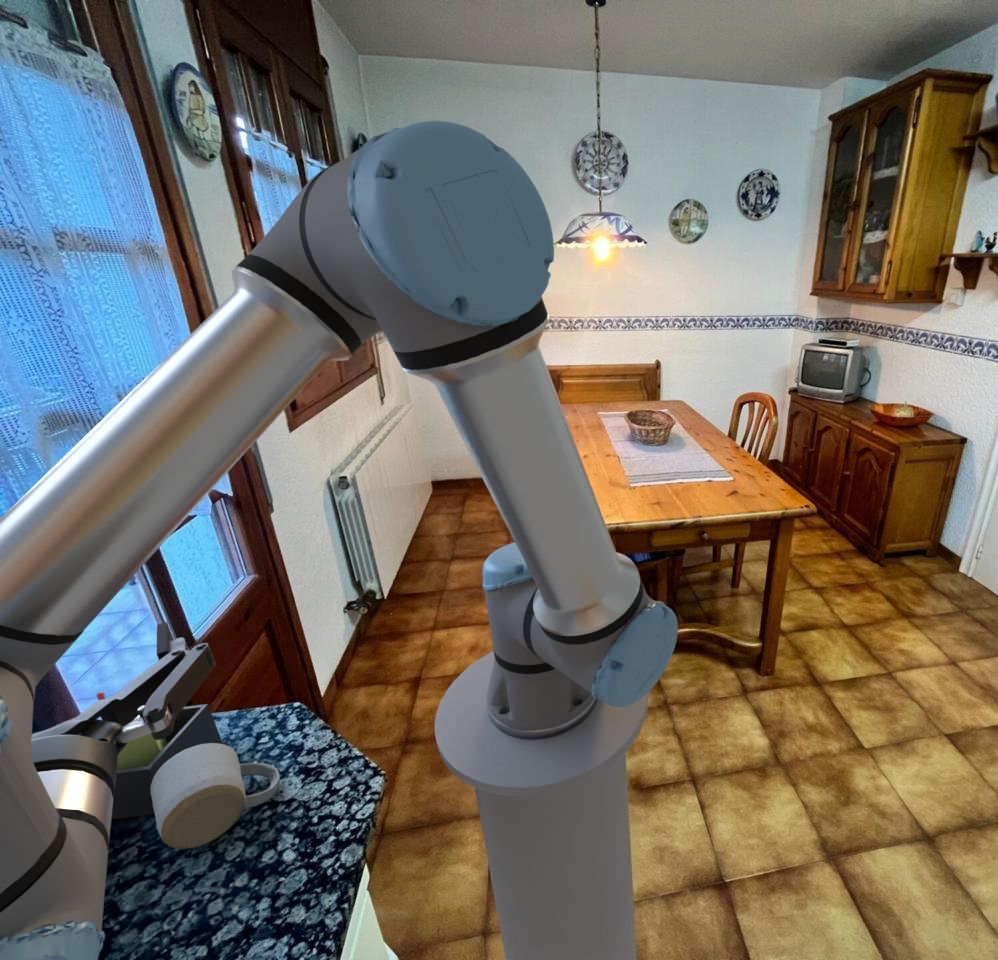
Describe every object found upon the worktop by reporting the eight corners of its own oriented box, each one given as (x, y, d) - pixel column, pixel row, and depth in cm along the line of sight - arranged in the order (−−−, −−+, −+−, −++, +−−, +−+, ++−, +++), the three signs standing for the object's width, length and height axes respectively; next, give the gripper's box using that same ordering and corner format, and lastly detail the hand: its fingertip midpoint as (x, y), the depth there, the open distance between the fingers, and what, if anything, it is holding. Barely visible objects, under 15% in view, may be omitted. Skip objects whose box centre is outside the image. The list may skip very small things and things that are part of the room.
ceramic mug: (171, 871, 53) (147, 815, 50) (162, 820, 58) (140, 767, 56) (290, 802, 60) (274, 750, 58) (273, 762, 65) (258, 713, 63)
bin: (222, 743, 69) (208, 703, 67) (168, 812, 59) (148, 769, 57) (139, 753, 67) (122, 713, 65) (70, 825, 58) (47, 781, 56)
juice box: (173, 755, 66) (134, 664, 62) (173, 781, 63) (133, 686, 58) (130, 774, 64) (87, 680, 59) (128, 802, 60) (82, 704, 56)
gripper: (-284, 1023, 27) (-125, 773, 43) (273, 754, 43) (243, 640, 58) (-381, 931, 25) (-176, 700, 40) (247, 680, 40) (223, 582, 56)
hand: (72, 664), depth 49 cm, fingers open, 13 cm apart
